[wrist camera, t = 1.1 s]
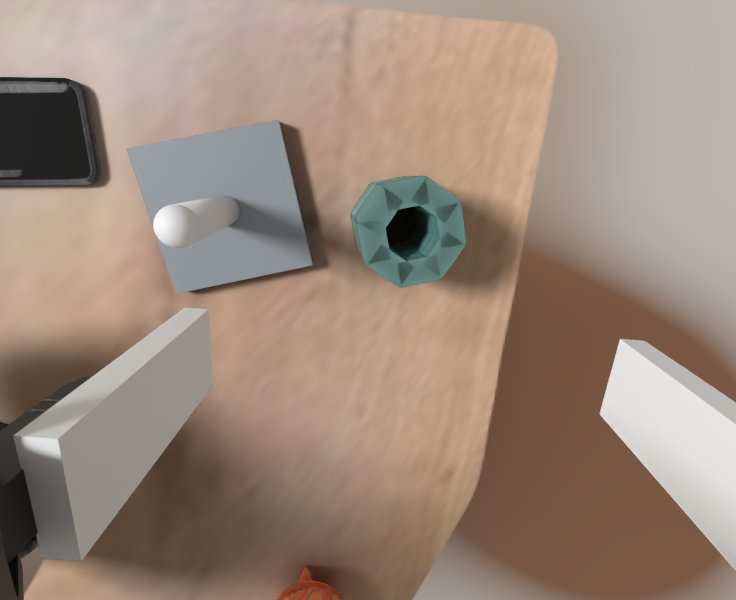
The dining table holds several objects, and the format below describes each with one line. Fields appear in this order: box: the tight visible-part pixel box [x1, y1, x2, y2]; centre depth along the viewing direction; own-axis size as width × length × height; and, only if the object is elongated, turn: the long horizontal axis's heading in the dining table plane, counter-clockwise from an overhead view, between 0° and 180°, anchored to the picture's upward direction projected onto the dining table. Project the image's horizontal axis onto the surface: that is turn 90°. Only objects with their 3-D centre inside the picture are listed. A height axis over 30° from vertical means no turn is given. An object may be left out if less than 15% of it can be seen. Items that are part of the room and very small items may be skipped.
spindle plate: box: [127, 120, 313, 294], centre depth 29 cm, size 12×12×15 cm
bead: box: [350, 176, 466, 288], centre depth 34 cm, size 8×8×8 cm
